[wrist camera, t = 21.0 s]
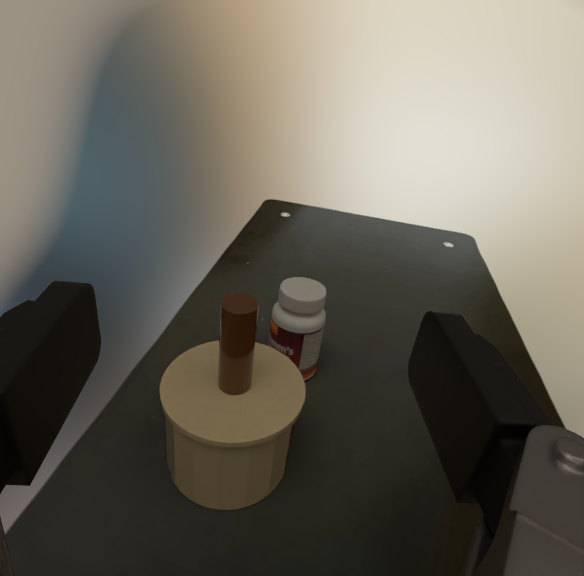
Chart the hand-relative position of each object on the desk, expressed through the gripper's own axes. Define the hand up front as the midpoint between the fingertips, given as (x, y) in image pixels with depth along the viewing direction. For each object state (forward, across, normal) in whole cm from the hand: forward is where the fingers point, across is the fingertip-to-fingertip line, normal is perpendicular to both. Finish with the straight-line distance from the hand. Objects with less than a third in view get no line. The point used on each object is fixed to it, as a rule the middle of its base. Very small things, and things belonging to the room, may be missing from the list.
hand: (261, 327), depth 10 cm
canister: (+18, +1, +28) cm, 33 cm away
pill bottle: (+31, -5, +28) cm, 42 cm away
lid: (+18, +1, +20) cm, 27 cm away
